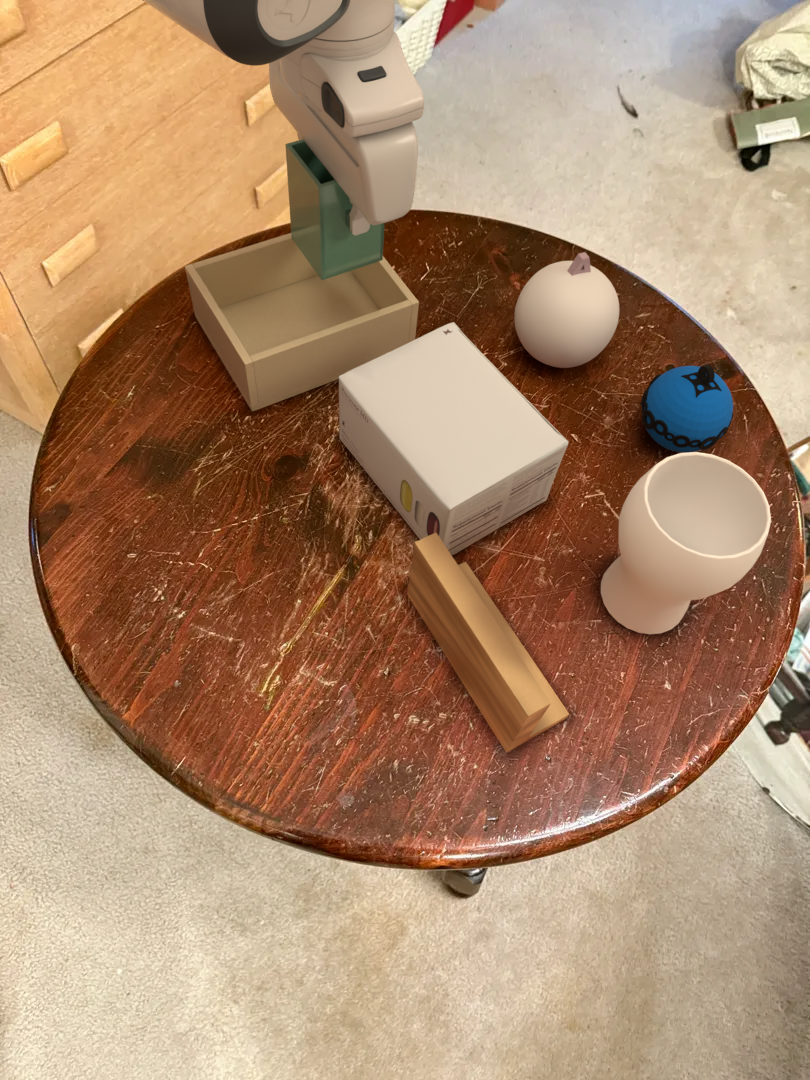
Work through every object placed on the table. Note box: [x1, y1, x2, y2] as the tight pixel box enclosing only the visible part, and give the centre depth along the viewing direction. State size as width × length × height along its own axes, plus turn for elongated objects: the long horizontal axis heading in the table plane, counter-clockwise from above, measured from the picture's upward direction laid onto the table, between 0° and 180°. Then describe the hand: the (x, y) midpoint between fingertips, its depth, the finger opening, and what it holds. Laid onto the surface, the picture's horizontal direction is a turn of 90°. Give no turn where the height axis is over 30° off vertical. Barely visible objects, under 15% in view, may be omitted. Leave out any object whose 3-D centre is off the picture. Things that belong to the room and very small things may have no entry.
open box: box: [184, 232, 420, 412], centre depth 84 cm, size 19×15×7 cm
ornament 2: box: [640, 364, 734, 453], centre depth 78 cm, size 9×9×10 cm
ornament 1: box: [514, 251, 620, 369], centre depth 83 cm, size 10×10×12 cm
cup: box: [600, 451, 772, 635], centre depth 67 cm, size 11×11×15 cm
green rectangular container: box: [285, 139, 385, 280], centre depth 75 cm, size 12×7×12 cm
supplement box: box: [338, 321, 570, 556], centre depth 75 cm, size 17×13×9 cm
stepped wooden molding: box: [406, 533, 570, 753], centre depth 65 cm, size 6×16×9 cm, turn 30°
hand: (337, 203), depth 75 cm, fingers closed on green rectangular container, 6 cm apart
